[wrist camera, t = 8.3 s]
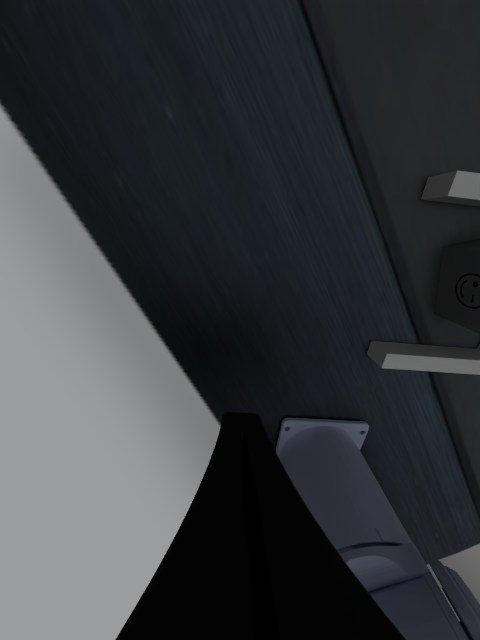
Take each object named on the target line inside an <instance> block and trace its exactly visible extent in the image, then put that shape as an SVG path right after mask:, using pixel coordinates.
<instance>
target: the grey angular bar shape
mask: <svg viewBox="0 0 480 640" xmlns="http://www.w3.org/2000/svg"><path fill="white" fill-rule="evenodd" d="M421 200H429V201H437V202H445V203H453V204H461V205H470V206H478V207H480V174H479V173H472V172H464V171H454V172H450V173H445V174H441V175H437V176H433V177H428V180H427V182H426V185H425V188H424V191H423V194H422V197H421ZM367 355H368V356H369V357H371V358H372V359H373V360H374V361H375V362H376V363H377V364H378V365H379V366H380V367H381V368H389V369H404V370H418V371H433V372H448V373H462V374H477V375H480V344H479V346H478V347H477V349H473V348H460V347H447V346H434V345H421V344H408V343H394V342H381V341H371V343H370V346H369V349H368V352H367Z"/></svg>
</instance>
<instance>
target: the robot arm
mask: <svg viewBox="0 0 480 640" xmlns="http://www.w3.org/2000/svg"><path fill="white" fill-rule="evenodd" d="M286 427H287V428H286ZM368 430H369V425H368V424H367V423H366V422H364V421H346V420H326V419H307V418H284V419H283V420H282V423H281V428H280V433H279V437H278V442H277V446H276V451H275V449H274V447H273V445H272V443H271V441H270V439H269V437H268V434H267V432H266V430H265V428H264V425H263V423H262V420H261V418H260V416H259V415H258V414H253V413H234V412H225V413H224V414H222V423H221V428H220V432H219V436H218V439H217V442H216V445H215V448H214V451H213V454H212V456H211V459H210V462H209V465H208V467H207V470H206V472H205V474H204V477H203V479H202V481H201V484H200V486H199V488H198V490H197V493H196V495H195V497H194V499H193V501H192V504H191V506H190V508H189V510H188V512H187V514H186V516H185V518H184V520H183V522H182V524H181V526H180V528H179V530H178V532H177V534H176V536H175V537H174V539H173V541H172V543H171V545H170V547H169V549H168V550H167V552H166V554H165V556H164V558H163V560H162V562H161V563H160V565H159V567H158V569H157V571H156V572H155V574H154V576H153V578H152V579H151V581H150V583H149V585H148V586H147V588H146V590H145V592H144V593H143V595H142V596H141V598H140V600H139V602H138V603H137V605H136V607H135V608H134V610H133V612H132V613H131V615H130V617H129V618H128V620H127V622H126V623H125V625H124V627H123V628H122V630H121V632H120V633H119V635H118V637H117V638H116V640H480V604H479V603H478V601H477V600H476V598H475V597H474V595H473V594H472V592H471V591H470V590H469V588H468V587H467V586H466V584H465V583H464V581H463V580H462V578H461V577H460V576H459V575H458V574H457V572H455V571H453V570H452V569H450V568H448V567H446V566H444V565H443V564H442V563H441V562H440V561H439V560H434V561H431V562H429V564H430V566H431V568H432V570H433V571H434V573H435V575H436V576H437V578H438V580H439V582H440V583H441V585H442V587H443V588H442V589H443V591H444V593H445V595H446V596H447V598H448V600H449V602H450V603H451V605H452V607H453V609H454V610H455V612H456V614H457V616H458V617H459V619H460V622H459V621H458V619H457V618H456V616H455V614H454V612H453V611H452V609H451V607H450V605H449V604H448V602H447V600H446V598H445V597H444V595H443V593H442V592H441V590H440V588H439V586H438V584H437V583H436V581H435V579H434V577H433V576H432V574H431V572H430V571H429V569H428V567H427V565H426V564H425V562H424V560H423V558H422V557H421V555H420V553H419V551H418V550H417V548H416V546H415V544H414V543H412V542H411V540H410V538H409V536H408V535H407V533H406V531H405V529H404V528H403V526H402V524H401V522H400V521H399V519H398V517H397V515H396V513H395V512H394V510H393V508H392V506H391V505H390V503H389V501H388V499H387V498H386V496H385V494H384V492H383V491H382V489H381V487H380V485H379V484H378V482H377V480H376V478H375V477H374V475H373V473H372V471H371V470H370V468H369V466H368V464H367V462H366V461H365V459H364V457H363V455H362V454H361V452H360V449H361V447H362V444H363V442H364V439H365V437H366V434H367V432H368Z"/></svg>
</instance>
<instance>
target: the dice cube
mask: <svg viewBox="0 0 480 640" xmlns="http://www.w3.org/2000/svg"><path fill="white" fill-rule="evenodd" d="M435 314H436V315H439V316H441V317H443V318H445V319H448V320H450V321H452V322H455V323H457V324H459V325H461V326H464V327H466V328H468V329H470V330H473V331H475V332H477V333H479V334H480V239H477V240H472V241H467V242H463V243H458V244H453V245H448V246H443V250H442V258H441V267H440V275H439V283H438V291H437V299H436V307H435Z"/></svg>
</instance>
